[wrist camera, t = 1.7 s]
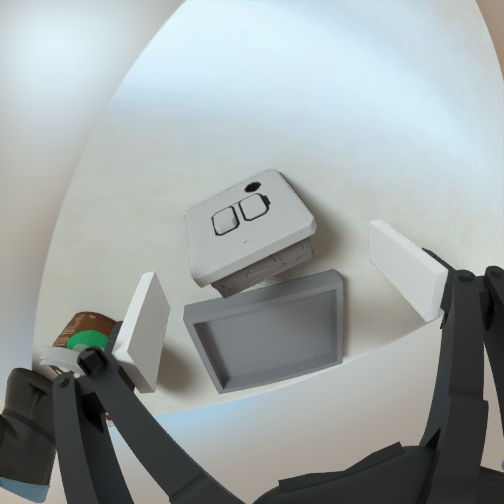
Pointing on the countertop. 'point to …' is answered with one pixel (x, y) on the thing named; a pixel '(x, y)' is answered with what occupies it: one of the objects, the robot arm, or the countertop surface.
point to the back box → (270, 332)
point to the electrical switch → (248, 234)
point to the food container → (78, 344)
